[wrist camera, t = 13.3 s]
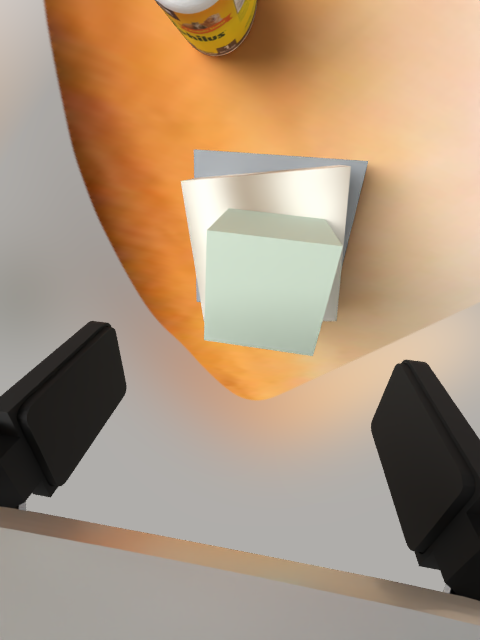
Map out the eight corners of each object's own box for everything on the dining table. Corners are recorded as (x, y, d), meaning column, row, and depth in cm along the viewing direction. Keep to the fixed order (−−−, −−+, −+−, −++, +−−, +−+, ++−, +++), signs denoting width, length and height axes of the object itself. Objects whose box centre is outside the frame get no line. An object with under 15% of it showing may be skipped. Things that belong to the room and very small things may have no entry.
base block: (355, 160, 23) (368, 161, 19) (323, 297, 29) (329, 316, 25) (206, 150, 24) (193, 149, 20) (206, 284, 30) (196, 301, 26)
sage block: (324, 219, 17) (342, 246, 12) (305, 305, 20) (312, 356, 15) (228, 208, 18) (206, 229, 13) (223, 294, 21) (204, 340, 16)
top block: (338, 164, 19) (350, 166, 16) (328, 297, 24) (336, 321, 21) (197, 177, 21) (180, 181, 17) (214, 300, 26) (204, 322, 22)
